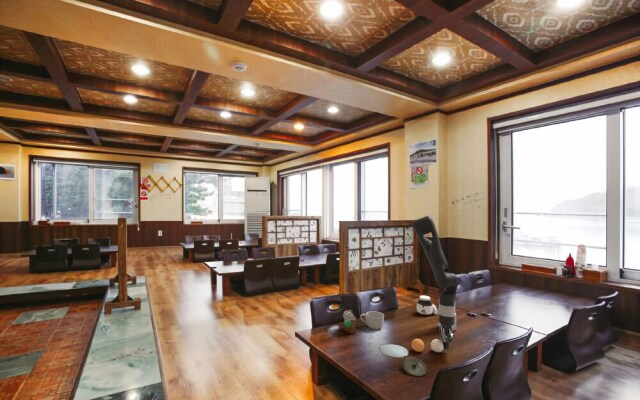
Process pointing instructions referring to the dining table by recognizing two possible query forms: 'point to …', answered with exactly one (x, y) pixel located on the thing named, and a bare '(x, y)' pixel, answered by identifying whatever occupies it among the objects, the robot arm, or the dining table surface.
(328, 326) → the dining table surface
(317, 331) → the dining table surface
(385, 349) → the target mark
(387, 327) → the dining table surface
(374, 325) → the teacup
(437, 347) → the cue ball
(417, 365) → the lid
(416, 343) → the object ball
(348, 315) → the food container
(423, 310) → the spread jar
